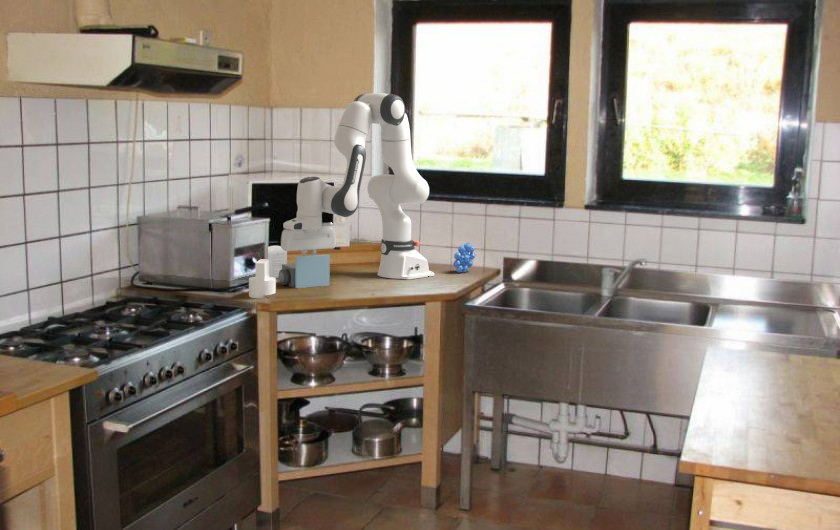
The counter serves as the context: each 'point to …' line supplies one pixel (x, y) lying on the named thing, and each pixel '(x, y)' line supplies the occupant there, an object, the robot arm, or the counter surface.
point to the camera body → (287, 275)
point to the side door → (312, 271)
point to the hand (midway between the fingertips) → (308, 262)
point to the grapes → (464, 258)
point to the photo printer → (276, 260)
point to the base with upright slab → (262, 281)
